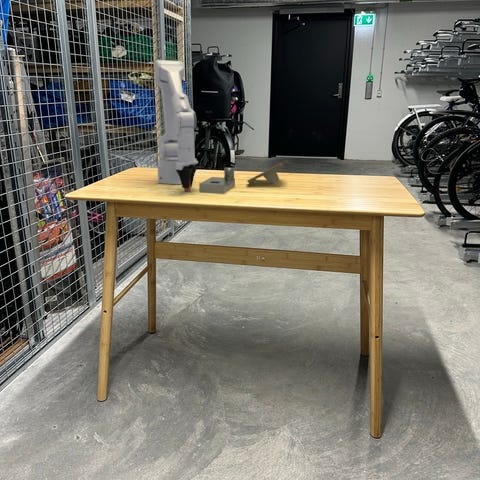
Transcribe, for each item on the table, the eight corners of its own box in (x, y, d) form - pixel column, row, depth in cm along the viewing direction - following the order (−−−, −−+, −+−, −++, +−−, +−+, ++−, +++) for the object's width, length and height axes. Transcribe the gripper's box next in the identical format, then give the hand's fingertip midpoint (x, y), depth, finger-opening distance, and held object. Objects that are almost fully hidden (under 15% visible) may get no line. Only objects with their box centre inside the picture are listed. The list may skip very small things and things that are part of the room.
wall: (260, 199, 156) (292, 172, 154) (245, 181, 155) (276, 154, 153) (261, 196, 172) (290, 172, 170) (247, 180, 172) (276, 155, 169)
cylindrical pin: (183, 191, 148) (182, 174, 146) (185, 190, 150) (185, 173, 148) (189, 192, 148) (188, 175, 146) (191, 190, 150) (191, 174, 148)
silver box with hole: (199, 192, 148) (198, 172, 145) (212, 184, 161) (211, 166, 158) (224, 193, 145) (224, 173, 143) (235, 186, 158) (235, 167, 156)
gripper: (189, 150, 136) (190, 192, 141) (204, 146, 150) (204, 184, 154) (169, 150, 138) (170, 190, 142) (185, 145, 151) (186, 183, 156)
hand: (187, 187), depth 148 cm, fingers closed on cylindrical pin, 2 cm apart
